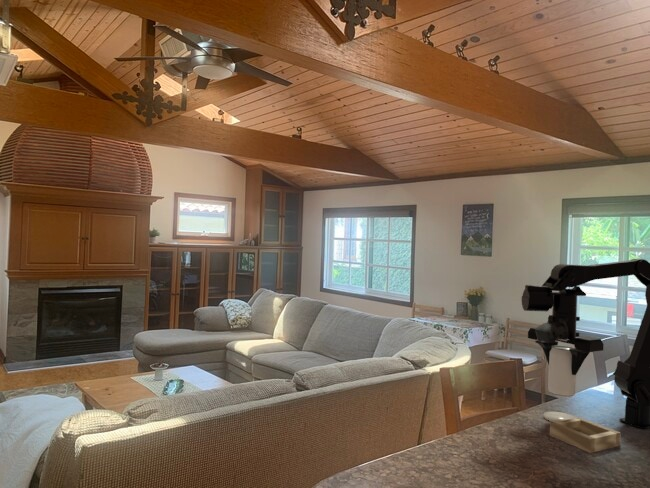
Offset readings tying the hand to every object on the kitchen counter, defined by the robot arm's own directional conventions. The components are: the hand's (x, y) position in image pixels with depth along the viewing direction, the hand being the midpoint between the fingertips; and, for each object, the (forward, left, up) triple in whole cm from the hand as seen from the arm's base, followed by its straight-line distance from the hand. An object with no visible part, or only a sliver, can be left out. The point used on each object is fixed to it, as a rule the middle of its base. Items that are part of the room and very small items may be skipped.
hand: (562, 371), depth 130 cm
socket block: (+7, +12, -13) cm, 19 cm away
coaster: (0, 0, -13) cm, 13 cm away
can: (0, 0, -6) cm, 6 cm away
